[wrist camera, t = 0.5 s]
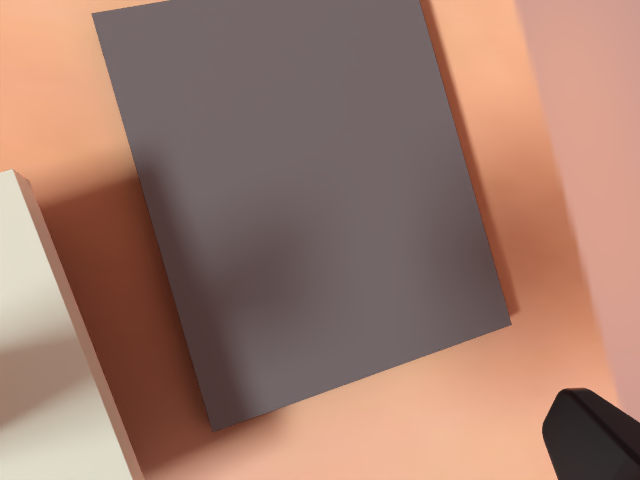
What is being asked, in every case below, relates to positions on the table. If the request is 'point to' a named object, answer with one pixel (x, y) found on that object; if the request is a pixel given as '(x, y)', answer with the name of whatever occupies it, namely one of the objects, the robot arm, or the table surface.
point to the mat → (301, 191)
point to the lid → (49, 361)
